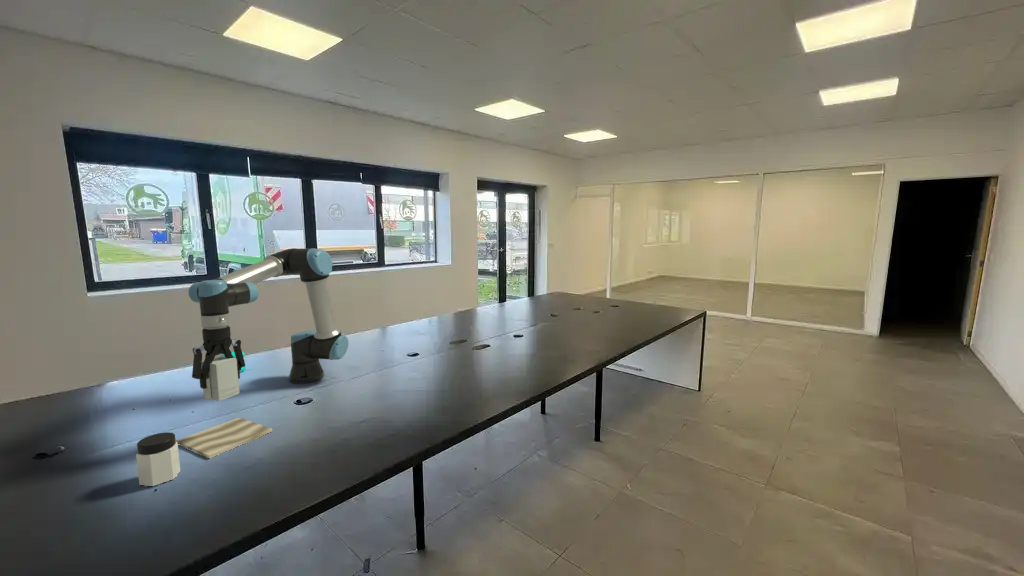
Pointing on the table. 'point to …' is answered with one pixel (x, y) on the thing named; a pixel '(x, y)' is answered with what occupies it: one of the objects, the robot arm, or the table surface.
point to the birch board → (224, 437)
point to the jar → (157, 459)
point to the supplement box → (223, 378)
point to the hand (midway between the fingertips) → (221, 392)
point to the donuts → (235, 357)
